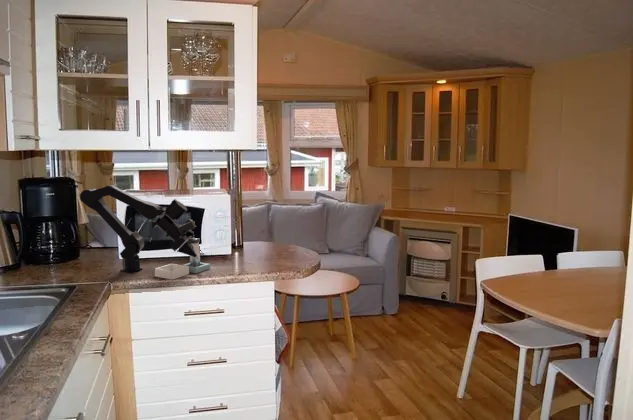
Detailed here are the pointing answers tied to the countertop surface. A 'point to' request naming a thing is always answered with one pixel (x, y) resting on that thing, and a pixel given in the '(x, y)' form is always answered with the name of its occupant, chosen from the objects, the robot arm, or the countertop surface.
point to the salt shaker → (196, 248)
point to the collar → (198, 269)
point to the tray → (171, 271)
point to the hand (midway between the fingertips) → (198, 253)
